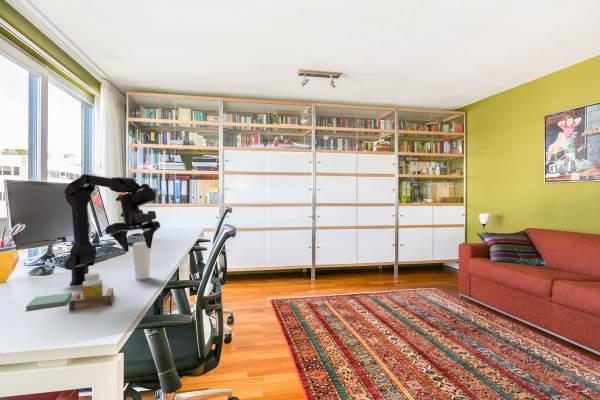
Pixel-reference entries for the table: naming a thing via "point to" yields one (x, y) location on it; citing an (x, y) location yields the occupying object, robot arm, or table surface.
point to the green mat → (49, 301)
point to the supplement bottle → (92, 285)
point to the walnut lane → (90, 301)
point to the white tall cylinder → (141, 260)
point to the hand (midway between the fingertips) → (138, 249)
